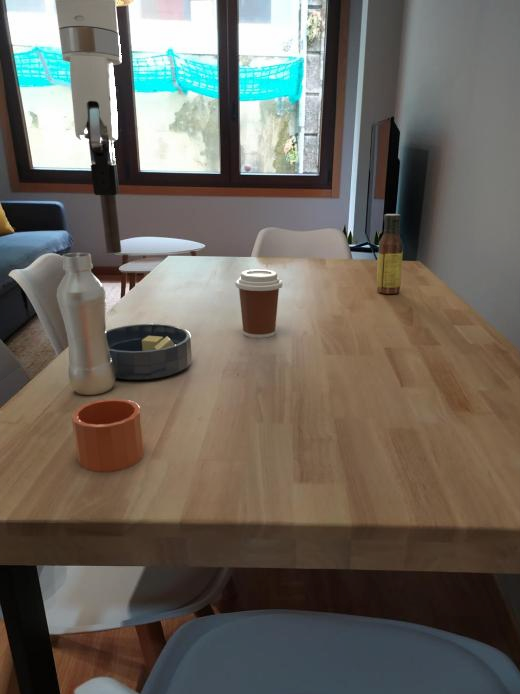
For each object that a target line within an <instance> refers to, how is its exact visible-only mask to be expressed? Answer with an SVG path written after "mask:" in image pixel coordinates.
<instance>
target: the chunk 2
mask: <svg viewBox="0 0 520 694" xmlns="http://www.w3.org/2000/svg"><path fill="white" fill-rule="evenodd" d="M174 345H175V344H174V343H173V342H172V341H171V340H170V339H169V338H168V337H166V338H164V339H163V340H162V341H161V342H159V343H158V344H157V345H156V346H154V347H155V349H156V350H157V349H163V348H167V347H171V346H174Z"/></svg>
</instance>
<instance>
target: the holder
mask: <svg viewBox="0 0 520 694" xmlns="http://www.w3.org/2000/svg"><path fill="white" fill-rule="evenodd" d="M142 422H143V421H142V413H141V406H139V404H138V403H136V402H135V401H131V400H129V399H122V398H107V399H99V400H94V401H90V402H88V403H85V404H83V405H80V406H79V407H77V408H76V409H75V410H74V411H73V413H72V416H71V423H72V430H73V436H74V437H73V438H74V444H75V449H76V456H77V461H78V463H79V465H80V466H81V467H82V468H83V469H85V470H87V471H91V472H96V473H110V472H116V471H121V470H124V469H127V468H130V467H131V466H134V465H135V464H137V463H139V462H140V460H142V458H143V457H144V455H145V443H144V433H143V432H144V431H143V423H142Z"/></svg>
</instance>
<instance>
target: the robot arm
mask: <svg viewBox="0 0 520 694" xmlns="http://www.w3.org/2000/svg"><path fill="white" fill-rule="evenodd" d="M54 1H55V2H54V3H55V9H56V17H57V26H58V34H59V42H60V48H61V57H62V60H63V61H64V62H67V63H69V77H70V91H71V100H72V101H71V102H72V112H73V121H74V133H75V137H76V138H77V139H78V140H80V141H84V142H88V147H89V155H90V163H91V164H90V173H91V181H92V189H93V194H94V195H96V196H100V195H118V194H119V193H120V185H119V177H118V176H119V175H118V167H117V164H116V158H115V157H116V156H115V148H114V142H116V141H117V140H118V138H119V129H118V111H117V110H118V109H117V96H116V86H115V85H116V84H115V75H114V66H118V65H121V64H122V55H121V54H122V53H121V44H120V35H119V33H120V32H119V23H118V12H117V0H54Z"/></svg>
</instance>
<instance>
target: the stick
mask: <svg viewBox="0 0 520 694" xmlns="http://www.w3.org/2000/svg"><path fill="white" fill-rule="evenodd" d="M116 195H117V194H116ZM116 195H99V199H100V209H101V216H102V226H103V233H104V234H103V235H104V243H105V252H106V253H107V254H120V253H122V245H121V234H120V225H119V216H118V207H117V196H116Z"/></svg>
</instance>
